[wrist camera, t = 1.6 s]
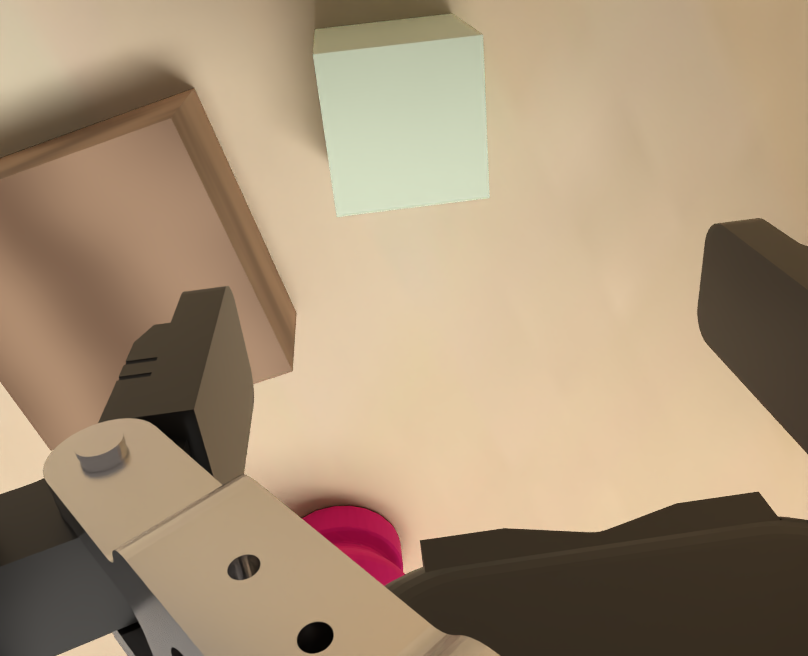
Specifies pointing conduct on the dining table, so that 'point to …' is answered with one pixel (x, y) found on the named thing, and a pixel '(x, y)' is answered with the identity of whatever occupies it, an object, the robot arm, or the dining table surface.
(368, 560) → the pepper mill
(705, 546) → the robot arm
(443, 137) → the green block
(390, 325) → the dining table surface
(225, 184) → the walnut box
